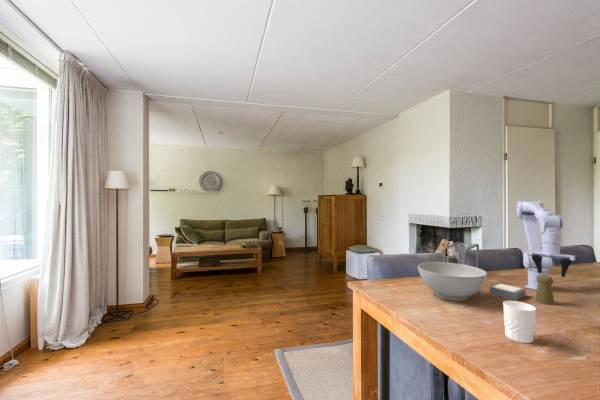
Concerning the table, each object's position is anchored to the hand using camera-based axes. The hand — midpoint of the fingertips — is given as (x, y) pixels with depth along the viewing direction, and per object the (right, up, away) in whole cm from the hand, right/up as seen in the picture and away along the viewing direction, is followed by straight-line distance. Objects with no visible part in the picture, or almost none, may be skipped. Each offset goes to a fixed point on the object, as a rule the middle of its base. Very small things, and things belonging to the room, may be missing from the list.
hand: (551, 274), depth 116 cm
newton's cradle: (-19, -11, +32) cm, 39 cm away
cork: (-6, -11, -4) cm, 13 cm away
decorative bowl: (-42, -11, +3) cm, 43 cm away
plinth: (-15, -10, +5) cm, 19 cm away
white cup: (-41, -11, -33) cm, 54 cm away
